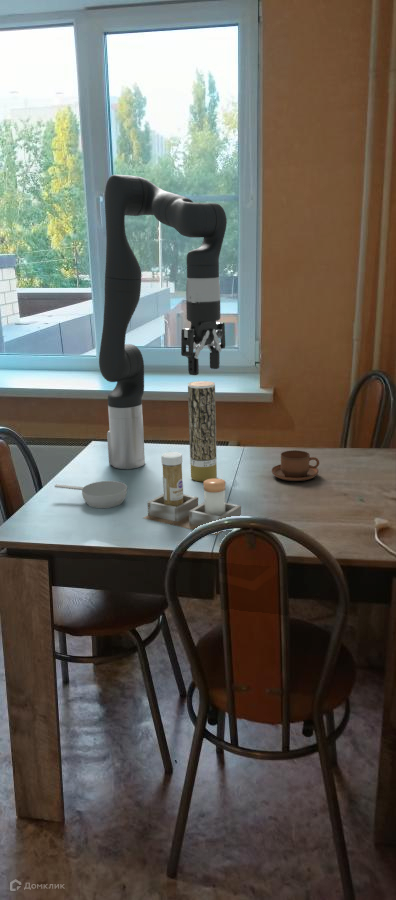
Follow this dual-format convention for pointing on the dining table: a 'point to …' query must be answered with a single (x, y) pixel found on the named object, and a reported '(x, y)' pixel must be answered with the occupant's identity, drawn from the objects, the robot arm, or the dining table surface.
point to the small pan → (101, 493)
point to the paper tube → (202, 430)
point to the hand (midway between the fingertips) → (204, 371)
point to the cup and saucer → (295, 466)
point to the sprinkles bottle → (172, 478)
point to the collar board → (186, 512)
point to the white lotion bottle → (214, 496)
